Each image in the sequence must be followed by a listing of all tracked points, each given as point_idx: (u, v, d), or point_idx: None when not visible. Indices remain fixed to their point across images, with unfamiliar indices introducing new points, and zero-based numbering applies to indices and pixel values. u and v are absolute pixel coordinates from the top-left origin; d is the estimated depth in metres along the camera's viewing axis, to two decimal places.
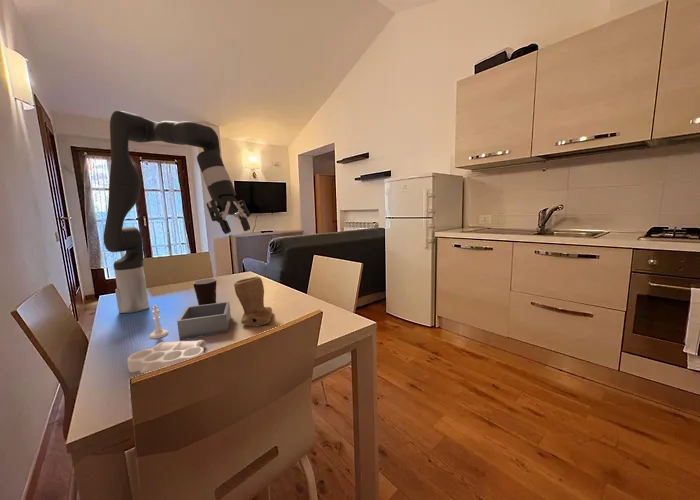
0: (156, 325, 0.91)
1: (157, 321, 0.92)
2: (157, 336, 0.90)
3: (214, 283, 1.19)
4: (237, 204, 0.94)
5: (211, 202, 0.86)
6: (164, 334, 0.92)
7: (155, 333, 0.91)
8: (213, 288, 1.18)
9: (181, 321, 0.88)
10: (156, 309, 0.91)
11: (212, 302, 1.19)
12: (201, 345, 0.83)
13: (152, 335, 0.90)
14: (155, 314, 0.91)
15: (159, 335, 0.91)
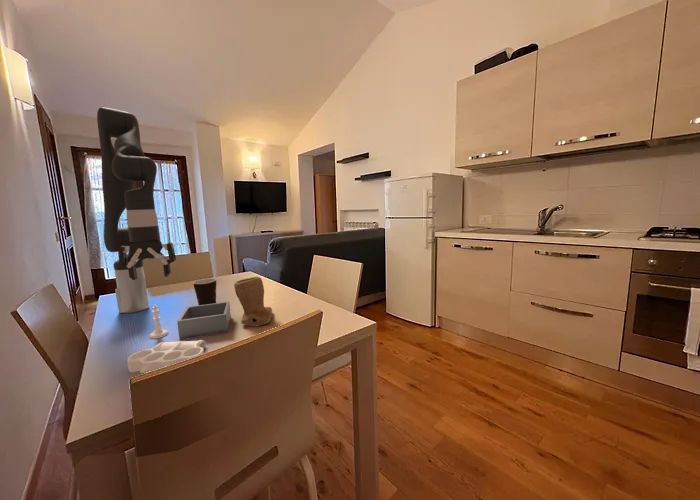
0: (156, 325, 0.91)
1: (157, 321, 0.92)
2: (157, 336, 0.90)
3: (214, 283, 1.19)
4: (153, 250, 0.87)
5: None
6: (164, 334, 0.92)
7: (155, 333, 0.91)
8: (213, 288, 1.18)
9: (181, 321, 0.88)
10: (156, 309, 0.91)
11: (212, 302, 1.19)
12: (201, 345, 0.83)
13: (152, 335, 0.90)
14: (155, 314, 0.91)
15: (159, 335, 0.91)
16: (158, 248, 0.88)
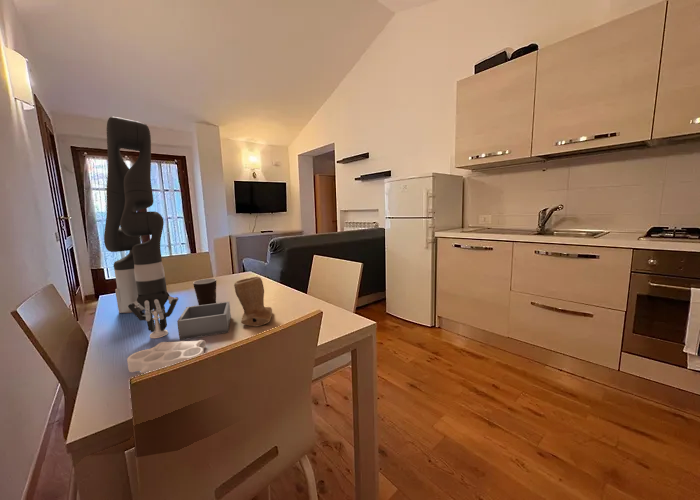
0: (156, 325, 0.91)
1: (157, 321, 0.91)
2: (157, 336, 0.90)
3: (214, 283, 1.19)
4: (159, 303, 0.90)
5: None
6: (164, 334, 0.92)
7: (155, 333, 0.91)
8: (213, 288, 1.18)
9: (181, 321, 0.88)
10: (156, 309, 0.91)
11: (212, 302, 1.19)
12: (201, 345, 0.83)
13: (152, 335, 0.90)
14: (155, 314, 0.91)
15: (159, 335, 0.91)
16: (163, 299, 0.91)
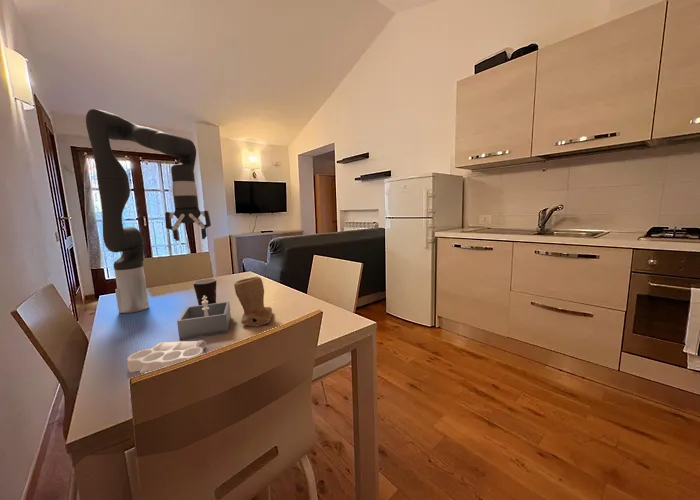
0: (205, 315, 0.96)
1: (206, 311, 0.96)
2: None
3: (214, 283, 1.19)
4: (194, 216, 1.05)
5: None
6: None
7: None
8: (213, 288, 1.18)
9: (181, 321, 0.88)
10: (205, 300, 0.95)
11: (212, 302, 1.19)
12: (201, 345, 0.83)
13: None
14: (205, 304, 0.95)
15: None
16: (197, 214, 1.06)
